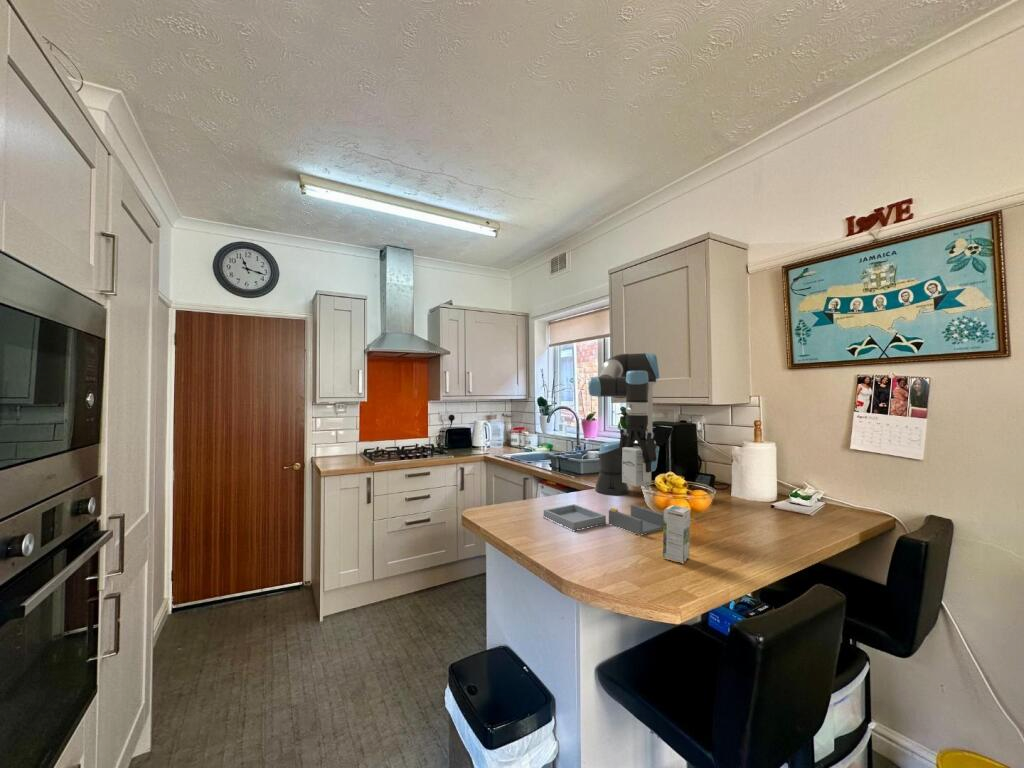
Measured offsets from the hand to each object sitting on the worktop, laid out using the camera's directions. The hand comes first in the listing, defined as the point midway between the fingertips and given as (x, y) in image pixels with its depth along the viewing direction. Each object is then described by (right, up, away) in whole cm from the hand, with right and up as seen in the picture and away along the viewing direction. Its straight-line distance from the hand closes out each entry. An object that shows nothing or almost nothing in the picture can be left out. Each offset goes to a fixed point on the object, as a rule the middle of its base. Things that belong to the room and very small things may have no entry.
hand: (636, 479), depth 146 cm
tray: (-21, -17, +6) cm, 28 cm away
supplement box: (0, -2, 0) cm, 2 cm away
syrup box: (+3, -17, -28) cm, 32 cm away
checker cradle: (0, -17, 0) cm, 17 cm away
